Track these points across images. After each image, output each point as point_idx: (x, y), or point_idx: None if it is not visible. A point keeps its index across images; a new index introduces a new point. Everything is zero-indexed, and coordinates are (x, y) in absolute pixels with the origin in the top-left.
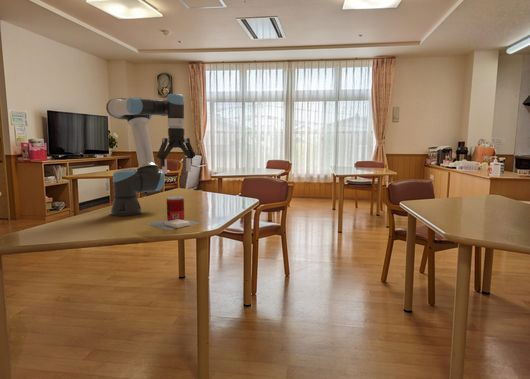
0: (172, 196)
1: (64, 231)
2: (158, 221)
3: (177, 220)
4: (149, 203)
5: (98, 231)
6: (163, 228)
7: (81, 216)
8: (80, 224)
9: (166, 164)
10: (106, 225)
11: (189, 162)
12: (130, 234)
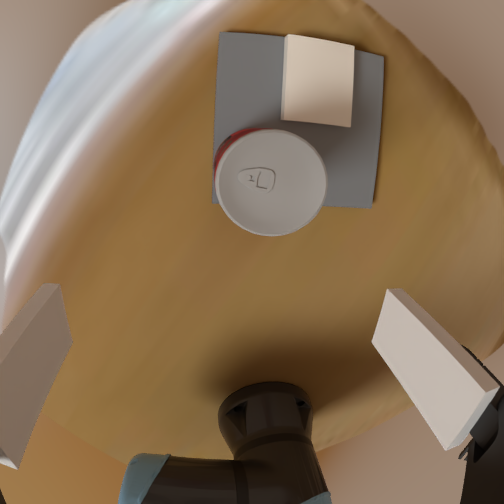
0: (259, 230)
1: (473, 313)
2: None
3: (305, 96)
4: None
5: (456, 258)
6: (379, 90)
7: (354, 430)
8: None
9: (451, 348)
10: None
11: (4, 361)
12: (446, 154)
